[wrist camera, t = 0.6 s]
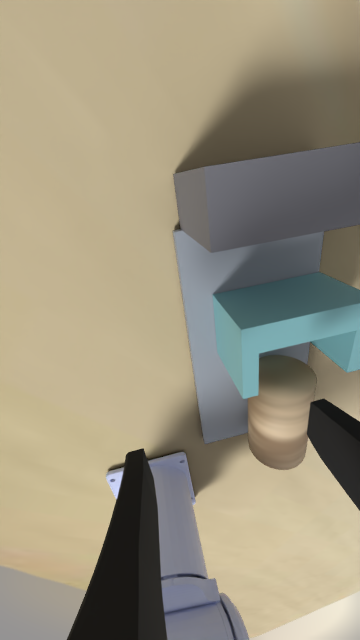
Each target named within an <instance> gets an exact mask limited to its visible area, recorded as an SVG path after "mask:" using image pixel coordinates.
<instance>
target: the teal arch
mask: <svg viewBox="0 0 360 640" xmlns="http://www.w3.org/2000/svg"><path fill="white" fill-rule="evenodd" d="M212 295H213V307H214V319H215V330H216V342H217V353H218V355H219V357H220V358H221V360H222V362H223V364H224V366H225V368H226V369H227V371H228V373H229V375H230V377H231V378H232V380H233V382H234V384H235V386H236V387H237V389H238V391H239V393H240V395H241V396H242V398H243V399H246V398H250V397H254V396H258V392H259V353H263V352H268V351H272V350H276V349H280V348H284V347H289V346H293V345H297V344H301V343H305V342H311V343H312V344H313V345H315V346H316V347H317V348H318V349H319V350H321V351H322V352H323V353H324V354H325V355H326V356H328V357H329V358H330V359H331V360H332V361H334V362H335V363H336V364H337V365H338V366H340V367H341V368H342V369H343V370H344V371H345V372H347V373H348V372H352V371H356V370H360V290H359V289H356V288H354V287H352V286H350V285H347V284H345V283H343V282H341V281H338V280H336V279H334V278H332V277H329V276H327V275H325V274H323V273H320V272H317V273H313V274H308V275H303V276H298V277H294V278H289V279H284V280H279V281H274V282H270V283H265V284H260V285H255V286H250V287H246V288H241V289H236V290H231V291H227V292H222V293H217V294H212Z"/></svg>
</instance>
